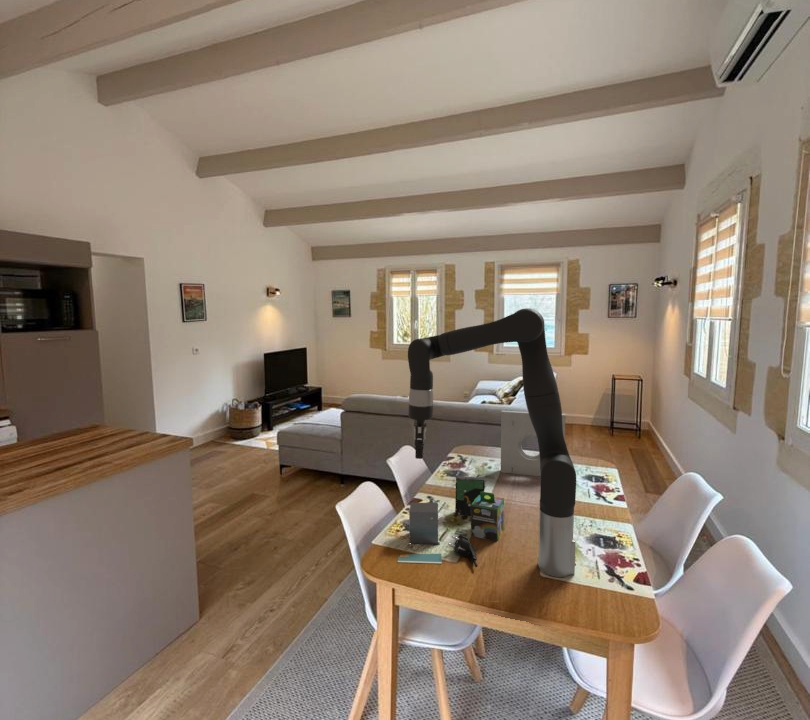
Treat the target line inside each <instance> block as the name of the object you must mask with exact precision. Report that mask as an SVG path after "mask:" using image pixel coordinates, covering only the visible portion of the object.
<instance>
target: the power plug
mask: <svg viewBox="0 0 810 720" xmlns="http://www.w3.org/2000/svg"><path fill="white" fill-rule="evenodd" d="M451 538H452V539H453V540H455V541H454V543H450V542H447V545H448V546H449V547H451V548H453V553H454V554H455V555H458V556H460V557H465V556H466V557H467V558H468V559H469V560H470V562H471V563H473V564H474V566H475V568H478V564H477V561H478V559H477V553H476V551H477V550H476V549H475V548H476V547H475V546H474V544H471V542H470V539H469V537H468V536H465V535H463V534H459V535H458V536H455V535H452V536H451Z"/></svg>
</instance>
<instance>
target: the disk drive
mask: <svg viewBox="0 0 810 720" xmlns="http://www.w3.org/2000/svg"><path fill="white" fill-rule="evenodd" d="M485 481H486V480H485V477H475V476H464V475H456V477H455V500H454V501H455V508H454V509H455V510H454V515H456V516H461V517H462V516H465V517H471V504H472V503H473V502H474V500H475V499H476V498H477V496H478V495H480V492H485V489H486V488H485Z"/></svg>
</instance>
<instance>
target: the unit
mask: <svg viewBox="0 0 810 720" xmlns="http://www.w3.org/2000/svg"><path fill="white" fill-rule="evenodd" d="M408 515H409V518H408V522H409V523H408V527H409V528H408V529H409V543H411V544H410V545H412V544H414V545H415V544H419V545H420V546H440V545H441V542H440V541H439V503H438V502H410V505H409V513H408ZM414 545H413V546H414ZM415 546H416V545H415Z"/></svg>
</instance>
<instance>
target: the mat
mask: <svg viewBox="0 0 810 720" xmlns="http://www.w3.org/2000/svg"><path fill="white" fill-rule="evenodd" d="M406 555H408V556H409V557H397V563H399V564H426V565H429V564H430V565H442V564H443V562H442V556H443V555H442V553H411V554H410V553H408V554H407V553H406Z"/></svg>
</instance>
